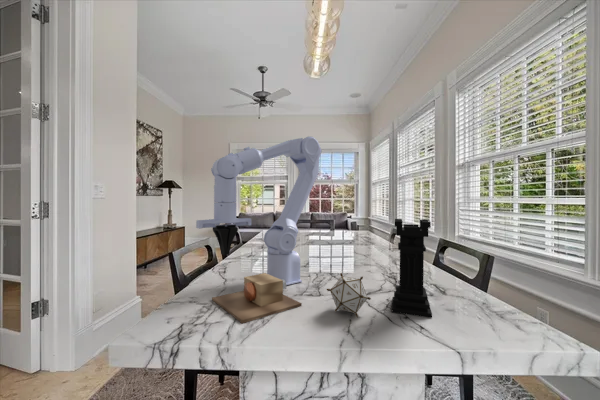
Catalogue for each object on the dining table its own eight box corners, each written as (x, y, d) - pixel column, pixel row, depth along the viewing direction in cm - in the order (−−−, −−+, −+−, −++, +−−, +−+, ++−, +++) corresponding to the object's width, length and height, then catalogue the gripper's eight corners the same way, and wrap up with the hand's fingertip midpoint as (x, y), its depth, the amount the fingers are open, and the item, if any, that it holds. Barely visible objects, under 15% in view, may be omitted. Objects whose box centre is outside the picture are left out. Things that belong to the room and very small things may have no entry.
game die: (348, 333, 60) (336, 305, 54) (328, 306, 67) (315, 278, 61) (381, 309, 62) (373, 279, 56) (358, 285, 69) (348, 257, 63)
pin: (278, 290, 73) (278, 274, 73) (288, 294, 70) (288, 277, 70) (243, 298, 67) (243, 280, 67) (252, 303, 64) (252, 285, 64)
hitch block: (265, 288, 78) (265, 268, 77) (301, 305, 65) (301, 282, 65) (212, 300, 68) (212, 277, 68) (242, 323, 56) (242, 296, 56)
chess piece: (428, 304, 67) (428, 219, 66) (432, 317, 59) (433, 222, 59) (392, 300, 69) (393, 218, 69) (391, 312, 62) (392, 221, 61)
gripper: (243, 202, 82) (243, 248, 82) (192, 202, 73) (192, 254, 73) (255, 202, 76) (255, 252, 77) (201, 203, 67) (201, 259, 68)
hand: (225, 254), depth 74 cm, fingers closed
